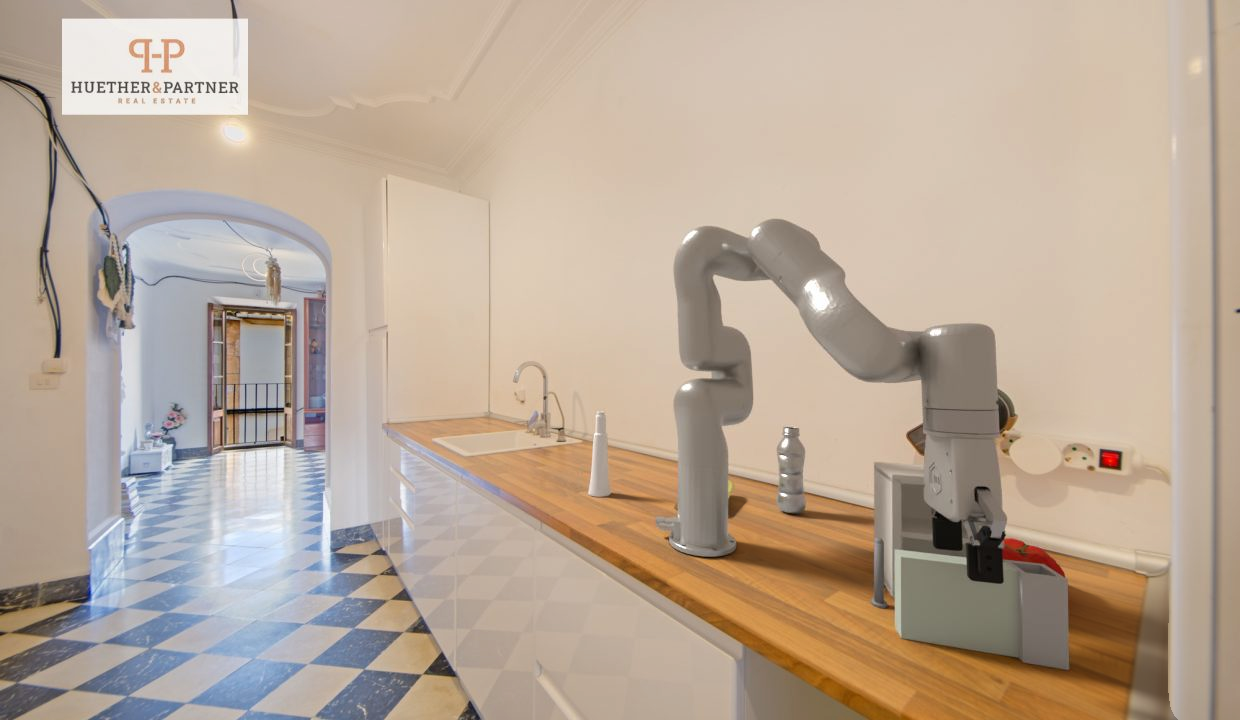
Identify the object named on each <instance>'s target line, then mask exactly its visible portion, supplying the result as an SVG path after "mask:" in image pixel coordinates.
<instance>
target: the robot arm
mask: <svg viewBox="0 0 1240 720" xmlns="http://www.w3.org/2000/svg"><path fill="white" fill-rule="evenodd" d="M673 259H674V261H673V280H674V281H673V282H674V288H675V295H676V301H677V304H676V305H677V332H678V334H677V335H678V352H679V353H678V354H679V359H680V361H681V363H682V365H683V367H685V368H687V369H689V370H690V371H695V372H707V373H708V372H711V378H707V377H706V378H705V377H702V378H701V377H699V378H694V379H690V380H688V381H686V382H684V383H682V384H681V385H680V386H679V387H678V388H677V390H676V392H675V395H674V398H673V412H674V418H675V423H676V424H675V425H676V430H677V431H676V432H677V502H678V509H677V515H676V516H672V517H665V516H656V517H655V520H654V523H655V527H658V529H659V531H665V532H666V531H668V532H669V531H670V533H669V537H668V541H669V542H668V543H669V544H670V546H671V547H673V548H674V549H675V550H677V551H678V552H681V553H683V554H687V555H691V556H696V557H703V558H704V557H706V558H711V557H713V558H715V557H722V556H727V555H729V554H732V553H733V552H734V551H735V550H736V549H737V540H736V538H735V537H734V536H733V535H732V534H730V533H729V499H728V478H729V448H728V446H729V445H728V443H727V439H726V436H725V434H724V430H723V427H725V426H726V427H727V426H735V425H740V424H741V423H743V422H744V421H746V420H747V419H748V418H749V417H750V415H751V413H752V411H753V410H752V409H753V405H754V383H753V381H754V379H753V366H752V352H751V351H752V350H751V347H750V343H749V341H748V338H747V337H746V336H745V334H743V332H742V331H741V330H739V329H738V328H735V327H732V326H727V325H724V323H723V315H722V300H721V296H720V293H719V290H718V288H717V286H716V284H715V281H714V276H719V277H721V278H725V279H729V280H732V281H739V282H754V281H755V282H756V281H757V282H759V281H772V283H774V285H775V286H776V287H778V289H779V290H780V291H781V292H782V293H783V294H784V295H785V297H786V298H788V299H789V300H790V301H791V302H792V303H793V305H794V306H795V307H796V308H797V309H798V313H799V315H800V318H801V319H802V320H803V323H804V325H805V326H806V328H807V330H808V331H809V333H810V334H811V336H812V337H813V338H814V340H815V341H816V342H817V343H818V344H819V346H821V347H822V348H823V350H824V351H826V352H827V354H828V355H829V357H831V358H832V359H833V360H834V361H835V362H836V364H838V365H839V366H840V367H841V368H842V369H843V370H844V371H845V372H846V373H848V374H849V375H850V376H852V377H854V378H856V380H857V379H858V380H861V381H863V382H867V383H877V384H879V383H880V384H881V383H884V384H885V383H886V384H898V383H900V384H901V383H909V382H915V381H921V382H920V383H921V384H920V385H921V405H922V406H921V407H922V433H923V434H924V435H926V436H925V441H924V442H925V443H924V452H923V453H924V456H923V465H924V500H925V502H926V503H927V504H928V505H929V506H930V507H932V508H931V514H932V516H933V517H932V534H933V546H934V547H935V548H936V549H942V550H953V551H962V549H963V545H962V521H961V520H963V523H964V525H965V528H966V531H967V534H968V537H969V540H970V543H966V560H967V576H968V578H969V579H970V580H972V581H977V582H986V583H996V584H1002V583H1003V582H1004V577H1003V554H1002V549H1003V548H1004V541H1003V540H1004V539H1006V536H1007V534H1006V531H1005V530H1006V526H1007V522H1008V516H1007V514H1006V512H1005V511H1004V510H1003V493H1002V491H1003V490H1002V479H1001V470H1000V463H999V457H998V450H997V444H996V439H1000V437H1001V435H1000V414H999V395H998V392H999V391H998V373H997V371H998V370H997V369H998V368H997V347H996V334H995V331H994V330H993V329H992V327H990V326H989V325H987V324H984V323H974V322H973V323H972V322H971V323H969V322H968V323H967V322H965V323H963V322H962V323H950V324H941V325H940V324H939V325H934V326H931V327H927V328H925V329H924V330H923V331H922V330H921V331H919V330H917V331H914V330H913V331H912V330H903V329H902V330H901V329H898V328H895V327H890V326H887V325H886V324H885V323H883V322H882V321H881V320H880V319H879V318H878V317H876V316H875V314H873V313H872V311H870V310H869V309H868V308H867V307H866V306H865V305H864V304H863V303H861V301H860V300H859V299H857V297H855V295H854V294H853V293H852V292H851V291H850V290H849V288H848V286H847V285H846V282H845V281H846V272H845V270H844V268H842V267H841V266H840V265H839V264H838V263H837V262H836V261H835V260H834V259H833V258H831V257H830V256H829V255H828V254H826V253H825V252H824V251H823V250H822V249H821V246H820V241H819V240H818V239H817V237H816V236H815V235H814V233H812V232H810V231H809V230H807V229H805V228H803V227H802V226H799V225H797V224H795V223H793V222H791V221H788V220H786V219H782V218H770V219H766V220H764V221H761V222H760V223H758V224H757V225H756V226H755V227H754V228H753V229H752V231H751V232H750V234H749V236H748V237H746V236H743V235H740V234H739V233H735V232H733V231H731V230H728V229H726V228H723V227H720V226H715V225H703V226H698V227H696V228H694V229H692V230H690V232H688V234H686V235H685V237H684V238H683V239H682V241H681V242H680V244H679V245H678V248H677V250H676V252H675V255H674V258H673ZM974 516H977V517H974ZM935 517H937V518H935ZM960 519H961V520H960ZM975 526H982V527H981V529H980V530H979V532H978V533H977V531H976V528H975Z"/></svg>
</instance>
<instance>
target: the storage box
mask: <svg viewBox="0 0 1240 720" xmlns="http://www.w3.org/2000/svg"><path fill="white" fill-rule="evenodd" d="M1003 577H1004V582H1003V583H1002V584H996V583H986V582H977V581H972V580H970V579H969V578H968V576H967V560H966V557H957V556H949V555H940V554H931V553H923V552H914V551H905V550H897V549H895V597H894V628H895V630H896V631H897V634H898V635H899V636H900V639H904V640H910V641H916V642H923V643H928V644H934V645H939V646H946V647H952V648H958V649H963V650H970V651H976V652H981V653H987V654H994V655H999V656H1006V657H1010V658H1011V657H1012V658H1013V657H1014V658H1018V659H1019V660H1020V661H1021V662H1022V663H1025V664H1031V665H1036V666H1041V667H1042V666H1043V667H1049V668H1054V669H1059V670H1066V671H1070V657H1069V656H1070V653H1069V649H1070V647H1069V639H1070V637H1069V590H1068V589H1069V585H1068V584H1069V583H1068V582H1069V581H1068V580H1069V579H1068V578H1066V577H1065V578H1064V577H1063V576H1061V575H1060V574H1058V573H1057V572H1055V571H1054V570H1052V569H1050V568H1049V567H1047V566H1046V565H1044V564H1038V563H1029V562H1021V561H1012V560H1003Z"/></svg>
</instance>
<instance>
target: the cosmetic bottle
mask: <svg viewBox="0 0 1240 720" xmlns="http://www.w3.org/2000/svg"><path fill="white" fill-rule="evenodd" d="M606 430H607V416H606V412H605V411H602V410H601V411H597V412H596V414H595V431H594V432H595V433H593V441H592V458H591V470H590V472H591V473H590V480H589V486H588V492H587V493H588V495H589V496H591V497H595V498H603V497H604V498H605V497H609V496H610V495H611V494H612V492H611V485H610V477H609V475H610V474H609V472H610V471H609V448H608V447H609V446H608V443H609V442H608V433H606V432H607V431H606Z"/></svg>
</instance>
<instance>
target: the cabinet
mask: <svg viewBox="0 0 1240 720" xmlns="http://www.w3.org/2000/svg"><path fill="white" fill-rule="evenodd" d="M873 472H874V473H873V480H874V481H873V487H874V489H873V493H874V494H873V504H874V505H873V506H874V507H873V520H874V521H873V525H874V526H873V527H874V528H873V530H874V531H873V535H874V537H873V590H874V591H873V597H871V599H870V604H871V605H872V606H873V607H877V608H879V609H886V608H887V607H888V602H887V601H886V600H885V588H886V589H887V591H888V593H889V594H890V595H891V597H892V598H895V549H897V550H905V551H914V552H923V553H931V554H940V555H949V556H957V557H966V543H970V540H969V537H968V534H967V531H966V528H965V525H964V523H963V520H961V519H960V520H961V521H962V545H963V549H962V551H953V550H942V549H936V548H935V547H934V546H933V534H932V517H933V516H932V514H931V508H932V507H930V506H929V505H928V504H927V503H926V502H925V500H924V464H914V463H913V464H911V463H899V462H898V463H896V462H886V461H885V462H883V461H881V462H880V461H874V462H873ZM974 517H977V516H974ZM935 518H937V517H935ZM981 527H982V526H975V528H976V531H977V533H978V532H979V530H980V529H981ZM884 587H885V588H884Z"/></svg>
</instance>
